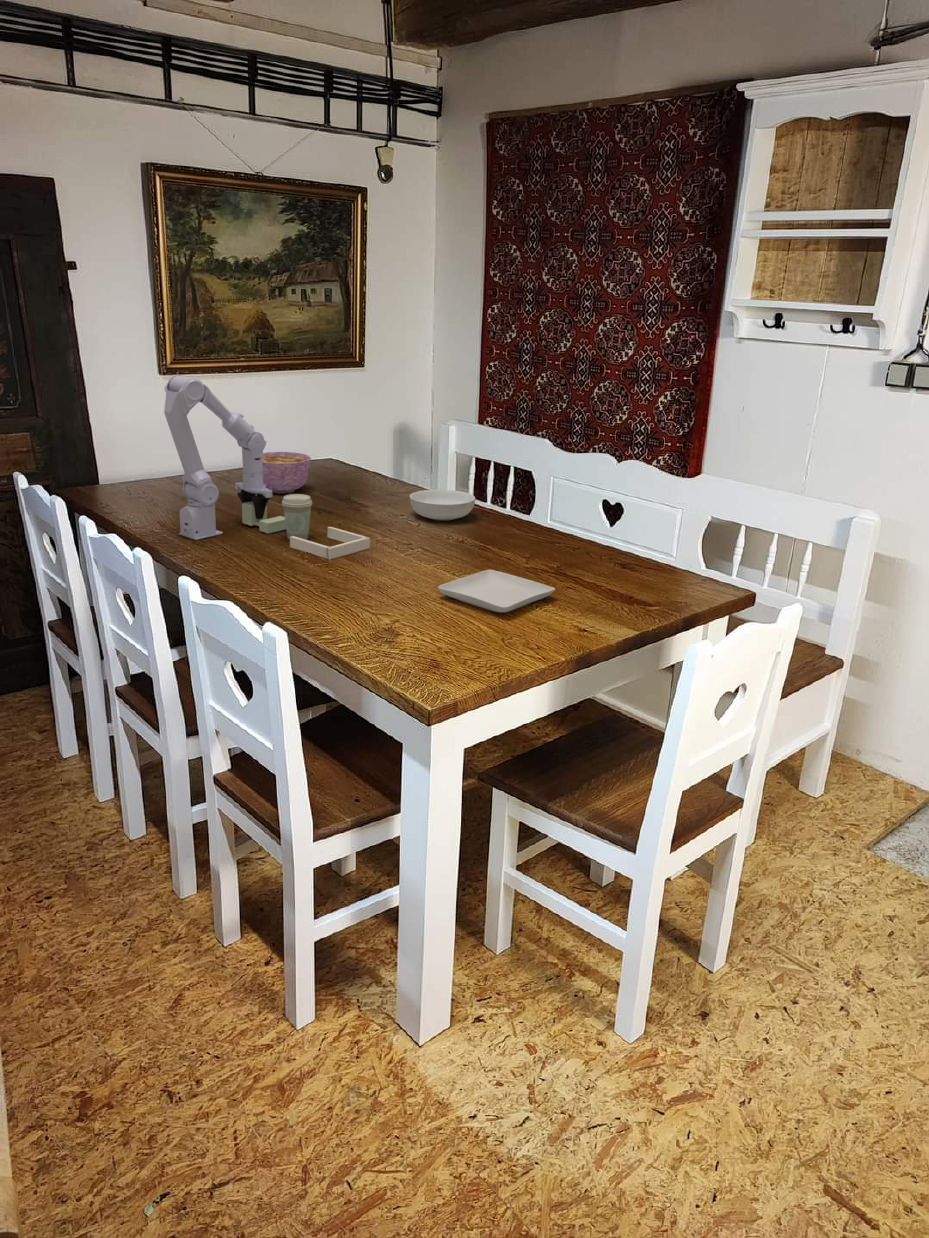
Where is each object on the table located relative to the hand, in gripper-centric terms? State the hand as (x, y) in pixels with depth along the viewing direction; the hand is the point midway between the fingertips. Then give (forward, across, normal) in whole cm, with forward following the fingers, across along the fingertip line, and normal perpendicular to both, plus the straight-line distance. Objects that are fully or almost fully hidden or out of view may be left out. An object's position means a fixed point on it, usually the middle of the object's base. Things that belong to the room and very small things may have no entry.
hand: (254, 517), depth 270 cm
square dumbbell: (+2, -4, 0) cm, 5 cm away
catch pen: (+2, -32, 0) cm, 32 cm away
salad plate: (+3, -90, 0) cm, 90 cm away
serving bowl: (+3, -32, -49) cm, 59 cm away
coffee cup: (+3, -19, 0) cm, 19 cm away
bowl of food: (+3, +28, -35) cm, 45 cm away
